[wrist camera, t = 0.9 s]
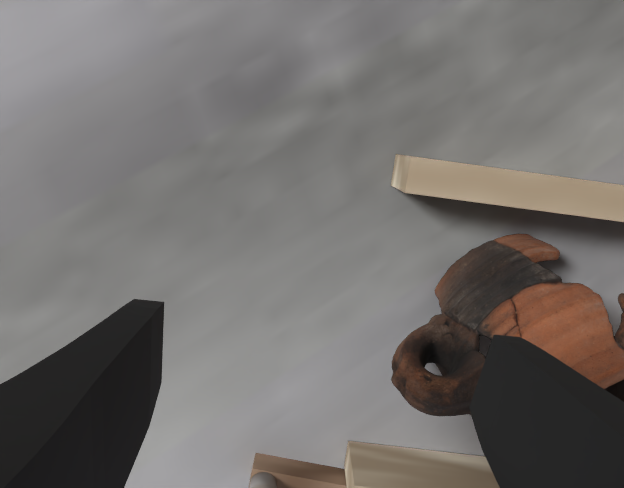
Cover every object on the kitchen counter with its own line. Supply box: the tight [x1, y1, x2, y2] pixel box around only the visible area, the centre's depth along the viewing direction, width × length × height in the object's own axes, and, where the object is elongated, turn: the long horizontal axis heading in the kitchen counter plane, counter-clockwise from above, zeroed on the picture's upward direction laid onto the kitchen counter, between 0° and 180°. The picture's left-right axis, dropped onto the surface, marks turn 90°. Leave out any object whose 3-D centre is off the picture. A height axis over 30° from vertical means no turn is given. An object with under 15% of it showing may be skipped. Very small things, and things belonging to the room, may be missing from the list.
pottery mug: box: [391, 234, 624, 416], centre depth 23 cm, size 12×10×8 cm
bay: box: [344, 154, 624, 488], centre depth 24 cm, size 17×22×4 cm
